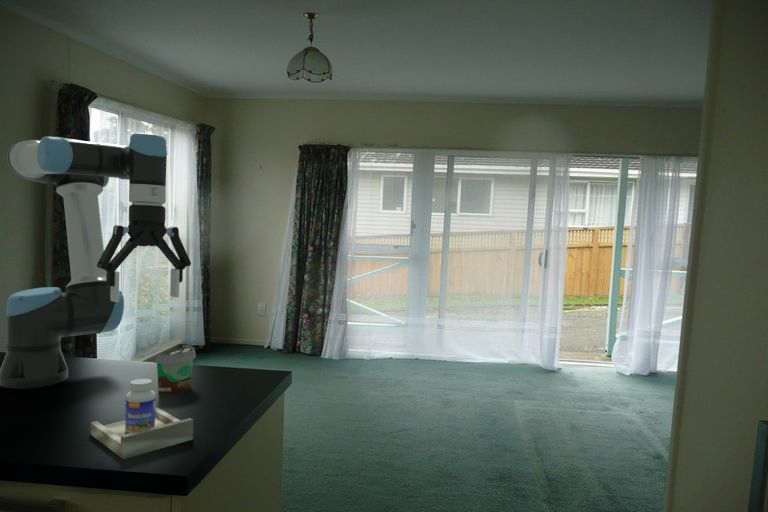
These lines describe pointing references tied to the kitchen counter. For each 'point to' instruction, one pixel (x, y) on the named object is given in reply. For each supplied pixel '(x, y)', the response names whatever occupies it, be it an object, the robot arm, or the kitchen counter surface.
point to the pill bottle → (140, 406)
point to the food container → (175, 370)
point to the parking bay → (143, 435)
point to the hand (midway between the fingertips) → (145, 299)
